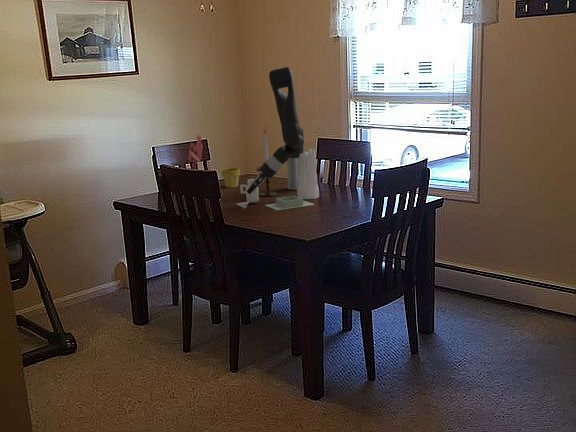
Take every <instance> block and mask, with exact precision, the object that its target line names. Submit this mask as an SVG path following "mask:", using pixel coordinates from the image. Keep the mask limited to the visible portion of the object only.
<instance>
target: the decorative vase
mask: <svg viewBox="0 0 576 432" xmlns="http://www.w3.org/2000/svg"><path fill="white" fill-rule="evenodd" d="M316 159H317V158H316V149H315V148H310V149H308V150H307V151H305V150H304V152H303V153H302V154H300V155H299V165H300V174H299V187H298V190H296V191H297V193H296V194H297V197H299V198H302V199H303V200H312V199H313V200H315V199H318V198H320V189H319V185H318V174H317V161H316Z"/></svg>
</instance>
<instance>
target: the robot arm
mask: <svg viewBox="0 0 576 432" xmlns="http://www.w3.org/2000/svg"><path fill="white" fill-rule="evenodd" d="M268 79H269V83H270V86H271V89H272V92H273V96H274V100H275V106H276V110H277V111H276V112H277V114H278V117H279V122H280V126H281V133H282V135H281V136H282V139H283V142H284V145H283V146H280V147H278V148H277V149H276V150H275V151H274V153H273V154H272V155H270V156H268V159H267V161H266V162H265V161H264V162H265V163H264V162H263V163H262V165H261V166H259V167H260V170H261V171H262V172H261V171H260V172H261V173H258V175H257V176H256V177H255V178H254V179H255V180H254V183H253V184H252V185H251V187H250V188H249V189H248V190H247V193H249V194H250V193H251V192H252V191H253V190H254V189H256V188H257V187H258V188H259V186H261V184H262V183H265V180H266V176H267V177H269V179H273V177H274V176H275V175H276V174H277V173H278V172H279V171H280V170H281V169H282V167H283V166H284V164H286V170H287V171H286V173H287V174H286V175H287V176H286V177H287V189H288V190H292V191H298V187H299V174H300V165H299V155H300V154H302V153H303V152H304V151H305V150H304V145H305V139H304V129H303V127H302V126H300V122H299V117H298V113H297V112H298V111H297V106H296V92H295V82H294V77H293V72H292V69H291V68H290V67H288V66H285V67H282V68H281V67H280V68H276V69H273V70H270V71H269V73H268ZM284 88H287V93H286V92H284V91H283V90H282V89H284ZM255 183H256V185H257V186H256V185H255Z"/></svg>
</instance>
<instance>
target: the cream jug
mask: <svg viewBox="0 0 576 432" xmlns="http://www.w3.org/2000/svg"><path fill="white" fill-rule="evenodd" d="M255 179H256V178H249V179H247V184H239V187H240V188H239V189H240V194H245V196H246V202H249V203H257V202H259V201H260V195H259V194H260V193H259V186H258V187H257V188H256V189H254V190H253V191H252V192H251V193H250V194H249V193H247V190H248V189H249V188H250V187H251V185H252V184H253V183H254V180H255ZM255 185H256V183H255ZM256 186H257V185H256ZM243 188H245V191H244V189H243Z"/></svg>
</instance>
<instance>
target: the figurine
mask: <svg viewBox="0 0 576 432" xmlns="http://www.w3.org/2000/svg"><path fill="white" fill-rule="evenodd" d="M203 148H204V147H203V143H202V138H201V134H198V133H197V134H196V145H195V144H194V143H193V142H190V147H189V151H188V156H187V157H188V164H189V165H190V164H191V161H192V162H193V163H195V165H196V167H197V168H196V171H197V170H198V171H199V164H201V161H202V158H203V156H202V152H203ZM192 150H193V151H192ZM195 152H196V153H197V154H195ZM192 158H193V159H194V160H193V159H192Z"/></svg>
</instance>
